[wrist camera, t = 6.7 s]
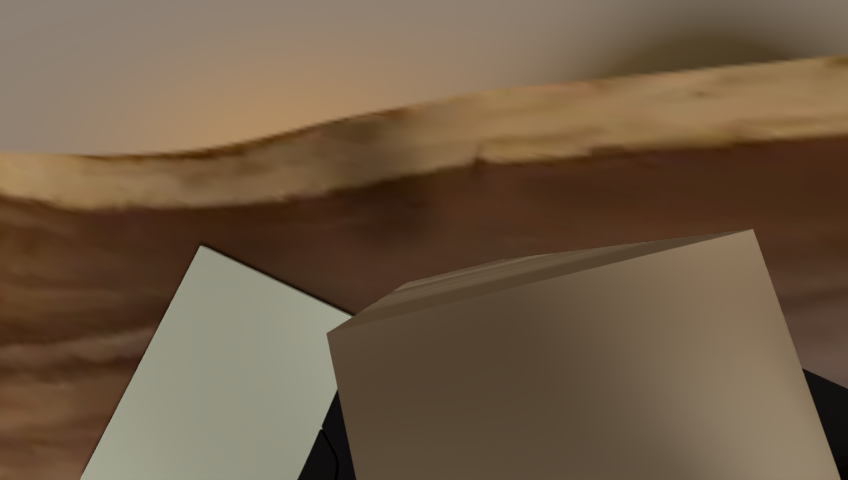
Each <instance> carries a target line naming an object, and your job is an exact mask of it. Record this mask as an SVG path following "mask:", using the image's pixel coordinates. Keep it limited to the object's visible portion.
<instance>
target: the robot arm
mask: <svg viewBox="0 0 848 480" xmlns="http://www.w3.org/2000/svg"><path fill="white" fill-rule="evenodd" d="M376 302H377V301H376ZM802 370H803V373H804V376H805V379H806V382H807V385H808V388H809V390H810V393H811V396H812V399H813V402H814V405H815V407H816V410H817V413H818V416H819V419H820V422H821V425H822V427H823V430H824V433H825V436H826V439H827V442H828V444H829V447H830V450H831V453H832V456H833V459H834V462H835V464H836V467H837V470H838V473H839V476H840V479H841V480H848V389H847V388H845V387H842V386H840V385H838V384H836V383H834V382H831V381H829V380H827V379H825V378H822V377H820V376H818V375H816V374H814V373H811V372H809V371H807V370H805V369H803V368H802ZM321 427H322V429H320V430H319V432H318V435H317V437H316V439H315V442H314V444H313V446H312V449H311V451H310V453H309V455H308V458H307V460H306V462H305V464H304V466H303V469H302V471H301V473H300V475H299V477H298V479H297V480H356V476H355V471H354V466H353V461H352V456H351V451H350V446H349V442H348V437H347V432H346V427H345V422H344V417H343V412H342V408H341V403H340V398H339V393H338V388H337V391H336V393H335V395H334V398H333V400H332V402H331V405H330V407H329V409H328V412H327V414H326V416H325V419H324V421H323V423H322V426H321Z"/></svg>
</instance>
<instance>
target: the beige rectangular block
mask: <svg viewBox="0 0 848 480" xmlns="http://www.w3.org/2000/svg"><path fill="white" fill-rule="evenodd" d="M326 335H327V340H328V344H329V349H330V354H331V359H332V364H333V369H334V374H335V378H336V383H337V388H338V393H339V398H340V403H341V408H342V412H343V417H344V422H345V427H346V432H347V437H348V442H349V446H350V451H351V456H352V461H353V466H354V471H355V476H356V480H841V479H840V476H839V473H838V470H837V467H836V464H835V462H834V459H833V456H832V453H831V450H830V447H829V444H828V442H827V439H826V436H825V433H824V430H823V427H822V425H821V422H820V419H819V416H818V413H817V410H816V407H815V405H814V402H813V399H812V396H811V393H810V390H809V388H808V385H807V382H806V379H805V376H804V373H803V370H802V368H801V365H800V362H799V359H798V356H797V353H796V351H795V348H794V345H793V342H792V339H791V336H790V333H789V331H788V328H787V325H786V322H785V319H784V316H783V313H782V311H781V308H780V305H779V302H778V299H777V296H776V294H775V291H774V288H773V285H772V282H771V279H770V276H769V274H768V271H767V268H766V265H765V262H764V259H763V257H762V254H761V251H760V248H759V245H758V242H757V239H756V237H755V234H754V231H753V229H751V230H742V231H734V232H726V233H718V234H710V235H701V236H693V237H685V238H677V239H669V240H660V241H652V242H644V243H636V244H627V245H619V246H611V247H603V248H595V249H586V250H578V251H570V252H562V253H554V254H545V255H537V256H529V257H521V258H512V259H504V260H499V261H495V262H491V263H487V264H483V265H479V266H475V267H470V268H466V269H462V270H458V271H454V272H450V273H446V274H442V275H438V276H434V277H429V278H425V279H421V280H417V281H413V282H409V283H406V284H404V285H403V286H401V287H399V288H398V289H396V290H395V291H393V292H391V293H390V294H388V295H387V296H385V297H383V298H382V299H380V300H379V301H377V302H375V303H374V304H372V305H371V306H369V307H368V308H366V309H364V310H363V311H361V312H360V313H358V314H356V315H355V316H353V317H352V318H350V319H348V320H347V321H345V322H344V323H342V324H340V325H339V326H337V327H336V328H334V329H332V330H331V331H329V332H328V333H326Z"/></svg>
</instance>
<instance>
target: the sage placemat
mask: <svg viewBox="0 0 848 480" xmlns="http://www.w3.org/2000/svg"><path fill="white" fill-rule="evenodd" d="M352 317H353V316H352V315H350V314H348V313H346V312H343V311H341V310H339V309H337V308H335V307H333V306H331V305H329V304H326V303H324V302H322V301H320V300H318V299H316V298H314V297H312V296H309V295H307V294H305V293H303V292H301V291H299V290H297V289H295V288H292V287H290V286H288V285H286V284H284V283H282V282H280V281H278V280H275V279H273V278H271V277H269V276H267V275H265V274H263V273H261V272H258V271H256V270H254V269H252V268H250V267H248V266H246V265H244V264H241V263H239V262H237V261H235V260H233V259H231V258H229V257H227V256H224V255H222V254H220V253H218V252H216V251H214V250H212V249H210V248H207V247H205V246H200V247H199V249H198V251H197V253H196V255H195V257H194V259H193V261H192V263H191V265H190V267H189V269H188V271H187V273H186V275H185V277H184V279H183V281H182V282H181V284H180V286H179V288H178V290H177V292H176V294H175V296H174V298H173V300H172V302H171V304H170V306H169V308H168V310H167V312H166V314H165V316H164V317H163V319H162V321H161V323H160V325H159V327H158V329H157V331H156V333H155V335H154V337H153V339H152V341H151V343H150V345H149V347H148V349H147V351H146V352H145V354H144V356H143V358H142V360H141V362H140V364H139V366H138V368H137V370H136V372H135V374H134V376H133V378H132V380H131V382H130V384H129V386H128V387H127V389H126V391H125V393H124V395H123V397H122V399H121V401H120V403H119V405H118V407H117V409H116V411H115V413H114V415H113V417H112V419H111V421H110V422H109V424H108V426H107V428H106V430H105V432H104V434H103V436H102V438H101V440H100V442H99V444H98V446H97V448H96V450H95V452H94V454H93V456H92V457H91V459H90V461H89V463H88V465H87V467H86V469H85V471H84V473H83V475H82V477H81V479H80V480H297V479H298V477H299V475H300V473H301V471H302V469H303V466H304V464H305V462H306V460H307V458H308V455H309V453H310V451H311V449H312V446H313V444H314V442H315V439H316V437H317V435H318V432H319V430H320V429H322V427H321V426H322V423H323V421H324V419H325V416H326V414H327V412H328V409H329V407H330V405H331V402H332V400H333V398H334V395H335V393H336V391H337V383H336V378H335V374H334V369H333V364H332V359H331V354H330V349H329V344H328V340H327V335H326V333H328V332H329V331H331V330H332V329H334V328H336V327H337V326H339V325H340V324H342V323H344V322H345V321H347V320H348V319H350V318H352Z"/></svg>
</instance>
